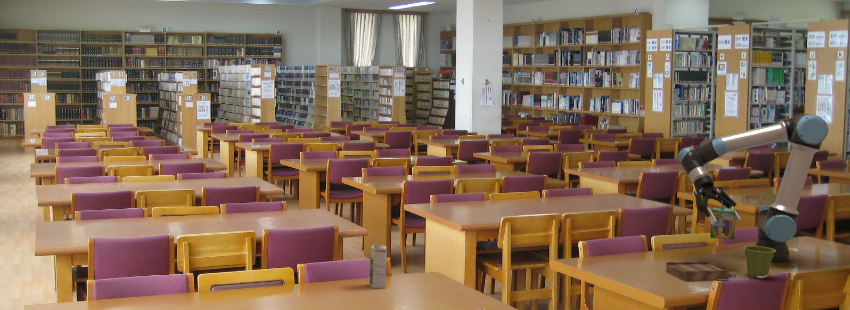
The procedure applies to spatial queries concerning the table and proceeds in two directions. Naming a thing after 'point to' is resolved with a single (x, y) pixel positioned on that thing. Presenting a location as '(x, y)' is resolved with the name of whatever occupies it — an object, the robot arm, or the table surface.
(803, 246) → the table surface
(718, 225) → the chalk box
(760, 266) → the plant pot
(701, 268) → the tray
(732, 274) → the grey stepped bar
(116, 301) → the table surface
